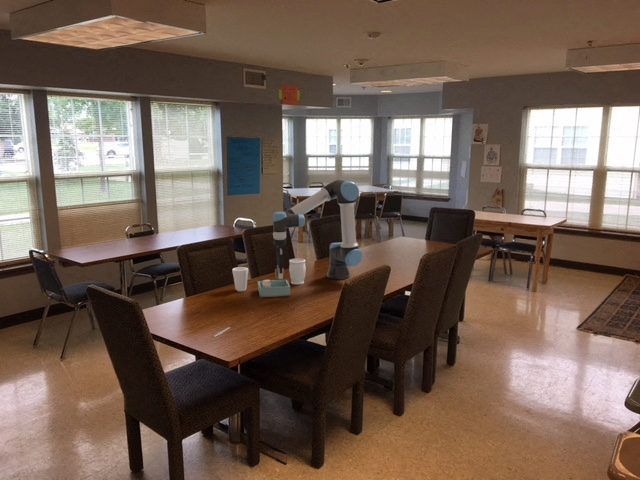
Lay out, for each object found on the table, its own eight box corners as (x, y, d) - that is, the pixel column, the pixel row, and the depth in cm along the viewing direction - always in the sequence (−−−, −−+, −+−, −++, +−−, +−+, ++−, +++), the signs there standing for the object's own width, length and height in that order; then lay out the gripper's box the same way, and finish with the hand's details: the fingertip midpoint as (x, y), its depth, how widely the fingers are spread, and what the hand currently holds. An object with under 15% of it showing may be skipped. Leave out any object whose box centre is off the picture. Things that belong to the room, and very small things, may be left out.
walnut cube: (283, 276, 304) (283, 268, 304) (284, 278, 300) (284, 270, 299) (275, 276, 303) (275, 268, 303) (276, 278, 299) (276, 270, 298)
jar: (303, 285, 318) (303, 262, 315) (287, 284, 320) (287, 261, 317) (307, 281, 328) (307, 258, 325) (291, 280, 330) (291, 257, 327)
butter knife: (210, 335, 235) (216, 336, 233) (241, 318, 259) (246, 318, 258) (210, 336, 235) (216, 337, 234) (241, 319, 259) (246, 319, 258)
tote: (287, 288, 312) (286, 279, 311) (290, 295, 297) (290, 286, 296) (258, 289, 309) (257, 281, 308) (260, 297, 293) (259, 288, 292)
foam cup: (252, 289, 310) (251, 268, 308) (241, 292, 303) (240, 271, 300) (240, 286, 316) (239, 266, 313) (229, 290, 308) (229, 269, 306)
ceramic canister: (270, 290, 305) (270, 279, 303) (271, 293, 300) (271, 281, 298) (262, 291, 304) (262, 279, 302) (263, 293, 299) (262, 282, 298)
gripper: (271, 236, 305) (272, 273, 310) (274, 241, 288) (275, 281, 292) (284, 235, 307) (284, 273, 311) (288, 241, 289) (288, 280, 294)
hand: (280, 277), depth 302 cm, fingers closed on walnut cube, 5 cm apart
